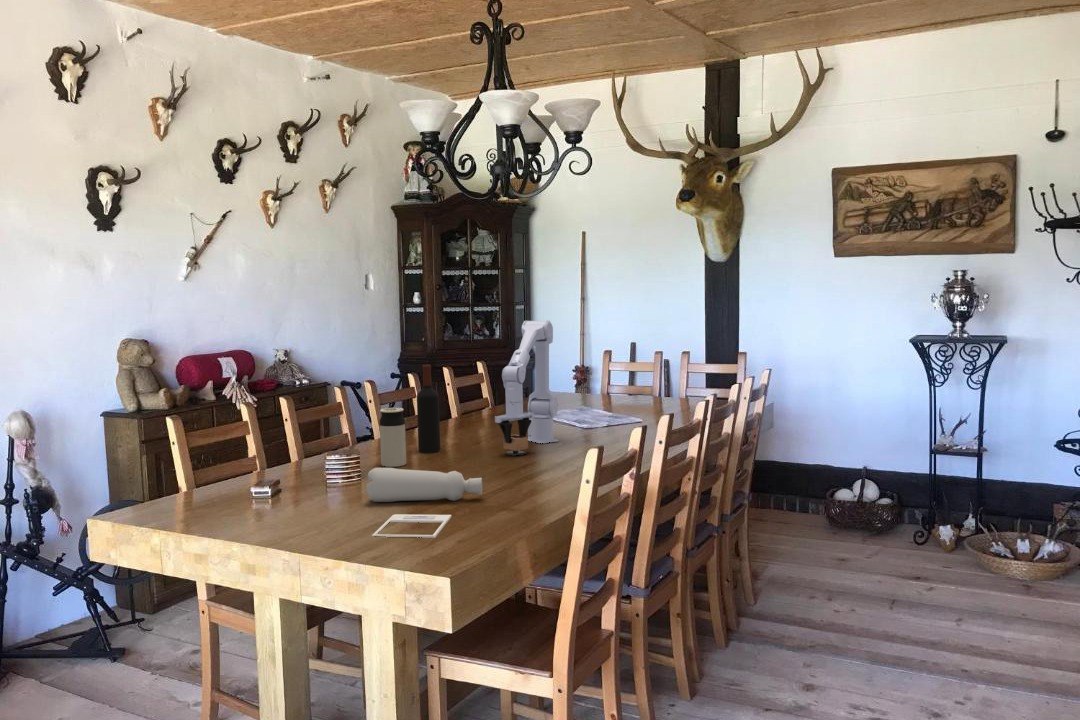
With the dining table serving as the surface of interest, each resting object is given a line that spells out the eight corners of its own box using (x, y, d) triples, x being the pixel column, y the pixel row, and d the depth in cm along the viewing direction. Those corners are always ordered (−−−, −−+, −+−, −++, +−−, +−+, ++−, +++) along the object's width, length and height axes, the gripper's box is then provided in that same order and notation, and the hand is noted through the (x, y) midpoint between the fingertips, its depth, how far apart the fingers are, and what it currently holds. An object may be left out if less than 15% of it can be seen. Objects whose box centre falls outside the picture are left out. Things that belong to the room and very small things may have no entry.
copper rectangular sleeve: (503, 448, 295) (503, 436, 294) (516, 446, 298) (515, 434, 297) (515, 450, 289) (514, 438, 289) (528, 448, 292) (527, 436, 292)
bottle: (363, 495, 227) (479, 496, 226) (367, 462, 232) (481, 463, 231) (370, 506, 235) (481, 508, 234) (374, 474, 240) (483, 476, 239)
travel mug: (381, 468, 276) (379, 411, 275) (380, 463, 284) (378, 408, 282) (407, 466, 278) (405, 410, 276) (405, 461, 285) (403, 407, 284)
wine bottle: (414, 452, 301) (411, 365, 298) (425, 448, 308) (422, 363, 305) (433, 453, 298) (430, 366, 295) (444, 449, 305) (441, 363, 302)
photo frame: (451, 514, 216) (434, 534, 198) (451, 518, 216) (434, 539, 198) (393, 513, 218) (372, 534, 200) (393, 518, 218) (372, 539, 200)
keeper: (505, 454, 294) (504, 438, 294) (517, 452, 297) (517, 437, 297) (513, 456, 290) (513, 440, 290) (526, 454, 293) (525, 439, 293)
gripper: (502, 404, 285) (503, 446, 286) (538, 400, 293) (539, 440, 294) (491, 402, 290) (492, 443, 292) (526, 398, 299) (527, 438, 300)
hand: (515, 441), depth 293 cm, fingers closed on copper rectangular sleeve, 5 cm apart
